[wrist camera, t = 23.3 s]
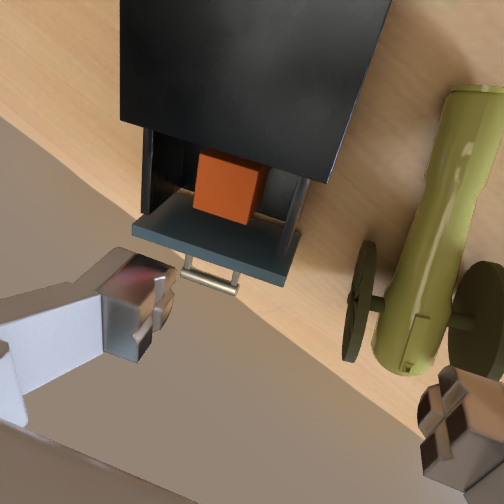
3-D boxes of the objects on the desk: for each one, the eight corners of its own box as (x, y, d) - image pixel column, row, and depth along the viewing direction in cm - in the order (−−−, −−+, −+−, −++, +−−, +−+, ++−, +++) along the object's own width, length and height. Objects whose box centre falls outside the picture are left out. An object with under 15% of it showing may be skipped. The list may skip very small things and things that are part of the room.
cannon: (395, 71, 29) (405, 96, 19) (569, 85, 26) (675, 121, 17) (339, 312, 42) (330, 394, 33) (450, 336, 40) (473, 432, 31)
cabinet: (338, 145, 33) (327, 184, 25) (177, 97, 34) (119, 120, 27) (412, -67, 24) (429, -107, 17) (195, -116, 26) (118, -173, 18)
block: (261, 202, 35) (246, 225, 31) (213, 186, 36) (192, 207, 32) (273, 152, 33) (258, 171, 29) (220, 136, 33) (199, 153, 29)
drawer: (286, 280, 41) (269, 328, 34) (167, 239, 42) (130, 277, 36) (343, 110, 30) (334, 133, 24) (182, 64, 32) (134, 75, 26)
